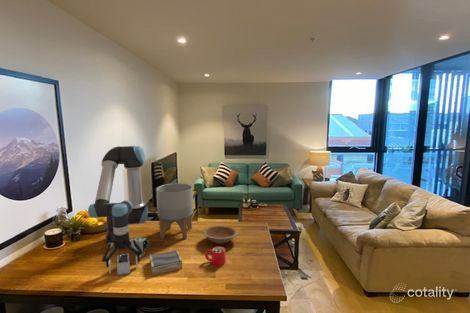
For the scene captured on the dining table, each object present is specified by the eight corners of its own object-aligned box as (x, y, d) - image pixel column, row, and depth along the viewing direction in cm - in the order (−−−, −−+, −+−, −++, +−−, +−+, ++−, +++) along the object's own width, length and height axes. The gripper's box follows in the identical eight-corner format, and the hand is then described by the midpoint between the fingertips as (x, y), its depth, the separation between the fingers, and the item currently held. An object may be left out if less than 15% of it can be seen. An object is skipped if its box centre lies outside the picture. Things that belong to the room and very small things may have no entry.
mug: (206, 258, 156) (206, 245, 155) (226, 258, 155) (226, 246, 154) (203, 265, 148) (203, 252, 147) (224, 266, 148) (224, 253, 146)
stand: (149, 262, 152) (149, 254, 151) (177, 256, 158) (177, 248, 157) (152, 275, 139) (151, 266, 138) (182, 268, 145) (182, 260, 145)
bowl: (244, 243, 174) (244, 232, 173) (213, 254, 161) (213, 241, 160) (225, 231, 193) (225, 220, 192) (196, 239, 180) (196, 228, 179)
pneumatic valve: (146, 259, 155) (145, 240, 153) (129, 257, 157) (127, 238, 156) (151, 254, 160) (150, 236, 159) (134, 252, 163) (133, 234, 161)
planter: (182, 223, 207) (180, 181, 202) (200, 233, 189) (199, 187, 184) (152, 232, 190) (150, 187, 185) (169, 244, 172) (167, 194, 167)
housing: (118, 266, 147) (117, 255, 146) (129, 264, 150) (128, 253, 148) (117, 276, 138) (116, 264, 137) (130, 274, 140) (129, 261, 139)
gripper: (94, 239, 132) (97, 278, 135) (146, 231, 142) (148, 267, 145) (95, 233, 139) (99, 270, 142) (145, 226, 149) (147, 260, 152)
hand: (123, 269), depth 144 cm, fingers open, 13 cm apart
